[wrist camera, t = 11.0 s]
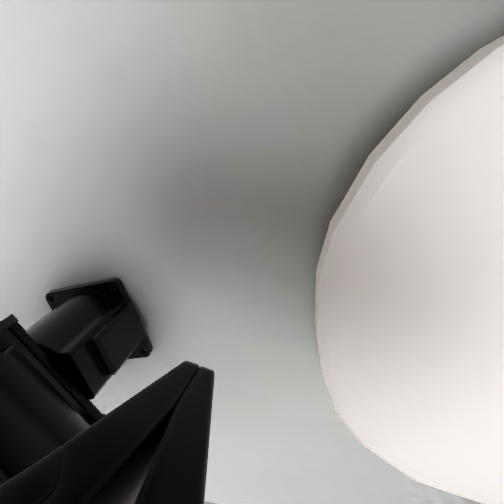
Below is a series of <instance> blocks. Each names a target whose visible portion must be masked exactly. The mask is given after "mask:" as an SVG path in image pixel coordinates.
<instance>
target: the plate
mask: <svg viewBox="0 0 504 504" xmlns="http://www.w3.org/2000/svg"><path fill="white" fill-rule="evenodd" d="M315 333H316V339H317V346H318V352H319V358H320V364H321V369H322V373H323V377H324V380H325V382H326V385H327V388H328V391H329V394H330V396H331V399H332V402H333V405H334V408H335V411H336V413H337V415H338V416H339V417H340V419H341V420H342V421H343V422H344V424H345V425H346V426H347V427H348V429H349V430H350V431H351V432H352V433H353V435H354V436H355V437H356V438H357V440H358V441H359V442H360V443H361V444H362V445H364V446H365V447H367V448H368V449H369V450H371V451H372V452H374V453H375V454H377V455H378V456H379V457H381V458H382V459H384V460H385V461H387V462H388V463H389V464H391V465H392V466H394V467H395V468H397V469H398V470H399V471H401V472H402V473H404V474H405V475H407V476H408V477H409V478H411V479H412V480H414V481H416V482H419V483H422V484H425V485H428V486H431V487H434V488H437V489H440V490H443V491H446V492H449V493H452V494H455V495H458V496H461V497H464V498H467V499H470V500H473V501H476V502H479V503H482V504H504V35H503V36H501V37H499V38H498V39H496V40H494V41H492V42H491V43H489V44H487V45H485V46H483V47H482V48H480V49H479V50H477V51H476V52H475V53H474V54H472V55H471V56H470V57H469V58H467V59H466V60H465V61H464V62H463V63H461V64H460V65H459V66H458V67H456V68H455V69H454V70H453V71H451V72H450V73H449V74H448V75H446V76H445V77H444V78H443V79H441V80H440V81H439V82H438V83H436V84H435V85H434V86H433V87H431V88H430V89H429V90H428V91H426V92H425V93H424V94H423V95H422V96H420V98H419V99H418V100H417V101H416V102H415V103H414V104H413V105H412V107H411V108H410V109H409V110H408V111H407V112H406V113H405V115H404V116H403V117H402V118H401V119H400V120H399V121H398V123H397V124H396V125H395V126H394V127H393V128H392V129H391V131H390V132H389V133H388V134H387V135H386V136H385V137H384V138H383V140H382V141H381V142H380V143H379V144H378V145H377V146H376V148H375V149H374V150H373V151H372V152H371V153H370V154H369V156H368V158H367V160H366V161H365V163H364V165H363V166H362V168H361V170H360V172H359V173H358V175H357V177H356V178H355V180H354V182H353V183H352V185H351V187H350V189H349V190H348V192H347V194H346V195H345V197H344V199H343V201H342V202H341V204H340V206H339V207H338V209H337V211H336V213H335V214H334V216H333V218H332V219H331V221H330V224H329V227H328V231H327V234H326V238H325V241H324V244H323V248H322V251H321V254H320V258H319V261H318V265H317V268H316V290H315Z"/></svg>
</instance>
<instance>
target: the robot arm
mask: <svg viewBox="0 0 504 504" xmlns="http://www.w3.org/2000/svg"><path fill="white" fill-rule="evenodd" d="M113 284H114V285H115V286H116V287H114V286H113ZM53 297H54V298H53ZM46 300H47V302H48V304H49V305H50V307H51V309H52V311H51V312H50V313H48V314H47V315H46V316H44V317H43V318H42V319H40V320H39V321H38V322H37V323H35V324H34V325H33V326H31V327H30V328H29V329H27V330H26V331H25V330H24V329H23V327H22V326H21V325H20V324H19V323H18V321H19V320H18V319H17V318H16V317H15V316H14V315H13V314H11V315H10V316H8V317H7V318H5V319H4V320H2V321H0V504H204V497H205V484H206V472H207V460H208V448H209V436H210V424H211V411H212V399H213V387H214V371H213V370H210V369H208V368H205V367H199V365H197V364H194V363H192V362H189V361H185V362H183V363H181V364H180V365H178V366H177V367H175V368H174V369H173V370H171V371H170V372H168V373H167V374H165V375H164V376H162V377H161V378H159V379H158V380H156V381H155V382H154V383H152V384H151V385H149V386H148V387H146V388H145V389H143V390H142V391H140V392H139V393H138V394H136V395H135V396H133V397H132V398H130V399H129V400H127V401H126V402H124V403H123V404H121V405H120V406H119V407H117V408H116V409H114V410H113V411H111V412H110V413H108V414H107V415H105V414H102V413H101V412H100V411H99V410H98V409H97V408H96V407H95V405H94V404H93V403H92V402H91V401H90V400H89V399H94V397H95V396H96V395H97V394H98V392H99V391H100V390H101V389H102V387H103V386H104V385H105V383H106V382H107V381H108V380H109V378H110V377H111V376H112V375H115V374H116V373H117V371H118V370H119V369H120V367H121V366H122V365H123V364H124V362H125V361H126V360H127V359H133V358H142V357H148V356H149V355H150V354H151V352H152V347H151V344H150V342H149V340H148V338H147V336H146V334H145V332H144V329H143V327H142V325H141V323H140V321H139V319H138V316H137V314H136V312H135V310H134V308H133V306H132V304H131V301H130V299H129V297H128V295H127V293H126V291H125V288H124V286H123V284H122V282H121V281H120V280H119V279H116V278H113V279H108V280H103V281H98V282H92V283H87V284H82V285H77V286H72V287H67V288H62V289H57V290H52V291H50V292H49V293H47V294H46ZM144 349H145V350H146V351H145V350H144Z"/></svg>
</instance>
